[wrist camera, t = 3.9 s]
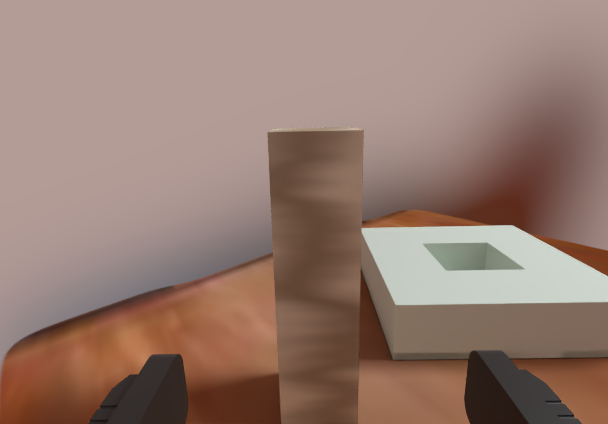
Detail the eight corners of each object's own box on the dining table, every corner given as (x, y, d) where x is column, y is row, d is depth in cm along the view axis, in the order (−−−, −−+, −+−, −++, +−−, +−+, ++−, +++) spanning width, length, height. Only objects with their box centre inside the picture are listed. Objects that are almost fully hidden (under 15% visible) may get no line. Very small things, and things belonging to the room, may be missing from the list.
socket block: (507, 260, 39) (512, 225, 38) (639, 356, 23) (654, 301, 22) (359, 263, 39) (359, 228, 38) (393, 359, 24) (395, 305, 23)
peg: (348, 371, 23) (352, 127, 19) (357, 423, 19) (363, 129, 15) (285, 372, 23) (275, 128, 19) (281, 424, 19) (267, 132, 15)
